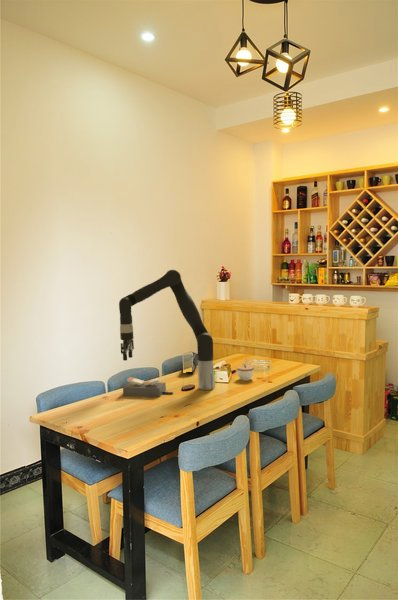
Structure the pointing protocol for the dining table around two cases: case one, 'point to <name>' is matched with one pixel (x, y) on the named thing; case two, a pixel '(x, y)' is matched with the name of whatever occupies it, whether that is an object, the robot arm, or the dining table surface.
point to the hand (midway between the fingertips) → (127, 358)
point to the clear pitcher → (194, 361)
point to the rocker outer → (135, 381)
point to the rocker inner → (152, 381)
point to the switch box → (145, 390)
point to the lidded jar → (245, 372)
